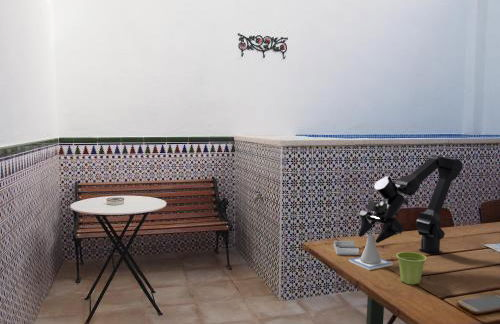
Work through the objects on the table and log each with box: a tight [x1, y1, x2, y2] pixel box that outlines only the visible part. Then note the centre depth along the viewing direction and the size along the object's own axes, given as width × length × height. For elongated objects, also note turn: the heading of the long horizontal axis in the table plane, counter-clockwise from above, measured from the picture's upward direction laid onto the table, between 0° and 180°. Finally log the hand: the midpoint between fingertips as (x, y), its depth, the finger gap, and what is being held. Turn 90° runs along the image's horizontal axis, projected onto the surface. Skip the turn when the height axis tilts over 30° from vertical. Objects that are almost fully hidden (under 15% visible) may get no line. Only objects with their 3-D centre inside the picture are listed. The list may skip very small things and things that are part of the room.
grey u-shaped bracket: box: [333, 240, 360, 256], centre depth 189 cm, size 8×11×3 cm
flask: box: [360, 233, 382, 264], centre depth 173 cm, size 7×7×10 cm
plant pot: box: [396, 251, 427, 285], centre depth 154 cm, size 9×9×9 cm
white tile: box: [348, 256, 393, 271], centre depth 173 cm, size 11×11×1 cm
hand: (367, 239), depth 172 cm, fingers open, 9 cm apart
